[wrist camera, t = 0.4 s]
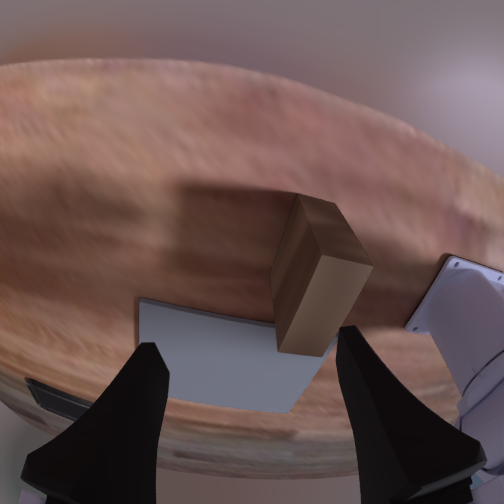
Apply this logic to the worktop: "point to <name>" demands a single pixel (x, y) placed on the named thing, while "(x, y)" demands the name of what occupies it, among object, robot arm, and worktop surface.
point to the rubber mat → (225, 358)
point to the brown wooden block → (315, 277)
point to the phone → (58, 401)
